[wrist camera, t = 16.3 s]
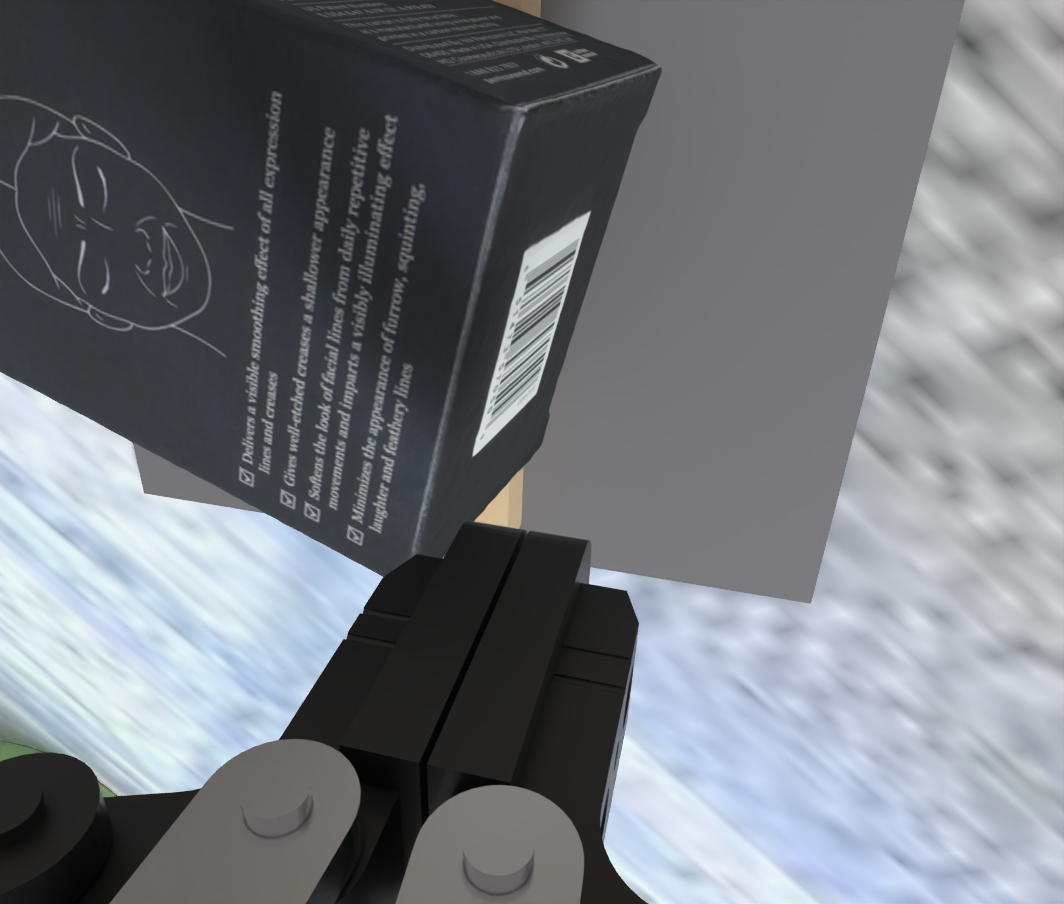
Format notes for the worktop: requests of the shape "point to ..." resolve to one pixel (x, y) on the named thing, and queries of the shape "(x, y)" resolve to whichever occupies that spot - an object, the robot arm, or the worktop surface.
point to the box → (309, 241)
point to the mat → (727, 288)
